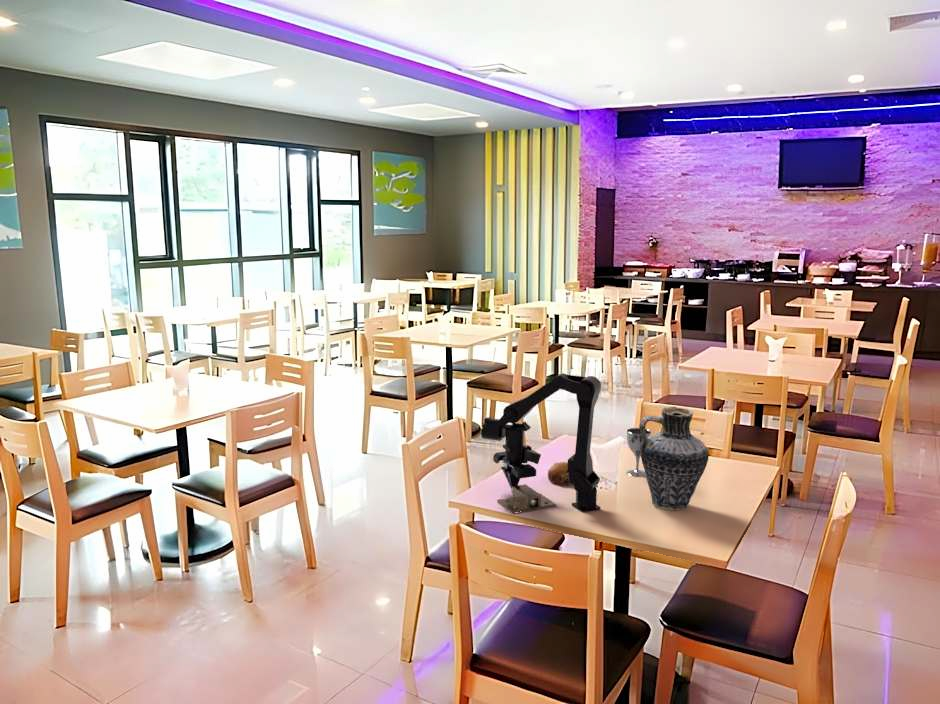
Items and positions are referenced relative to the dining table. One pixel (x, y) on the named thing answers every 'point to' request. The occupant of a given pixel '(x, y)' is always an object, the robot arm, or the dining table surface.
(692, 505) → the dining table surface
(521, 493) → the hinge
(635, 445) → the wine glass
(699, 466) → the jug
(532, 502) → the pin
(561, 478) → the bread roll
